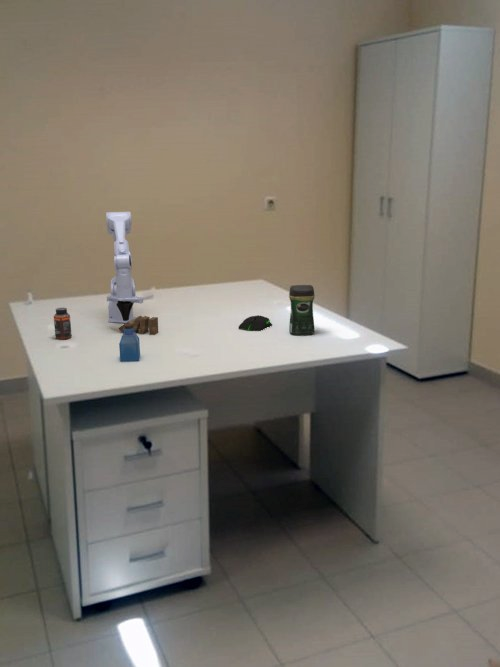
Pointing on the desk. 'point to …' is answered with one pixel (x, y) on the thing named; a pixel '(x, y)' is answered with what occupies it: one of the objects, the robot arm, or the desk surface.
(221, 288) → the desk surface
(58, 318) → the supplement bottle
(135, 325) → the domino
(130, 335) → the perfume bottle
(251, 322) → the computer mouse
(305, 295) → the coffee jar
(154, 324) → the domino
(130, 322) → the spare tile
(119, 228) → the robot arm
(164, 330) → the desk surface
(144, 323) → the domino
